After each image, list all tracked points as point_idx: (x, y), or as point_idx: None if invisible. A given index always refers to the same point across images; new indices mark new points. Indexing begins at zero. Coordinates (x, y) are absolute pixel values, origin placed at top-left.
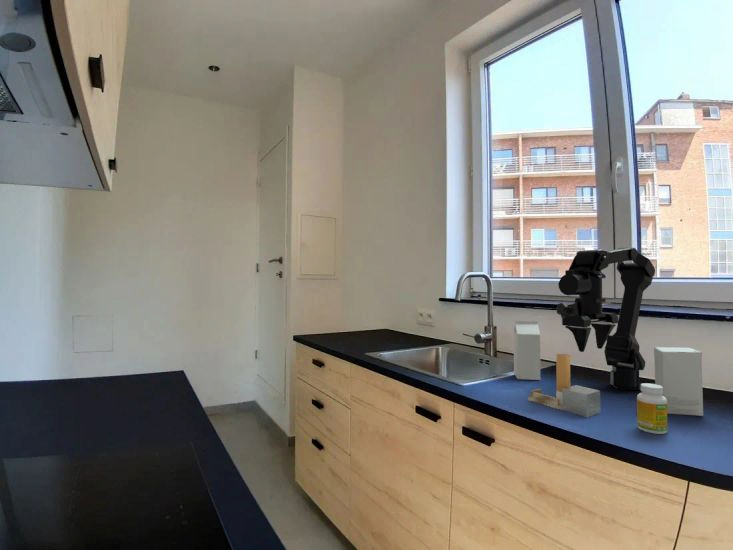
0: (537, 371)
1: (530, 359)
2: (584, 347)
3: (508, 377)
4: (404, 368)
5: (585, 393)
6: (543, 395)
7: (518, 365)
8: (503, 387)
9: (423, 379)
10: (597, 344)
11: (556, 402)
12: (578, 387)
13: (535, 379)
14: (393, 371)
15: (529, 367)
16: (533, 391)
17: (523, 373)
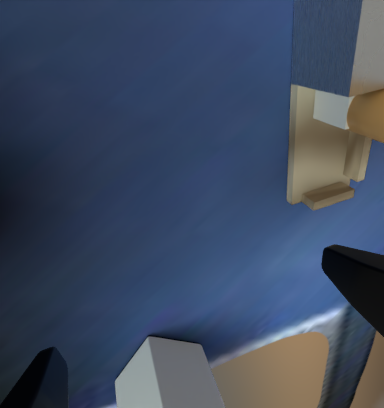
0: (161, 361)
1: (191, 405)
2: (371, 255)
3: None
4: (328, 401)
5: None
6: (370, 145)
7: (214, 383)
8: (291, 286)
9: (363, 343)
10: (66, 400)
11: None
12: (379, 60)
13: (161, 338)
14: (357, 383)
15: (186, 376)
16: (350, 190)
17: (194, 358)
